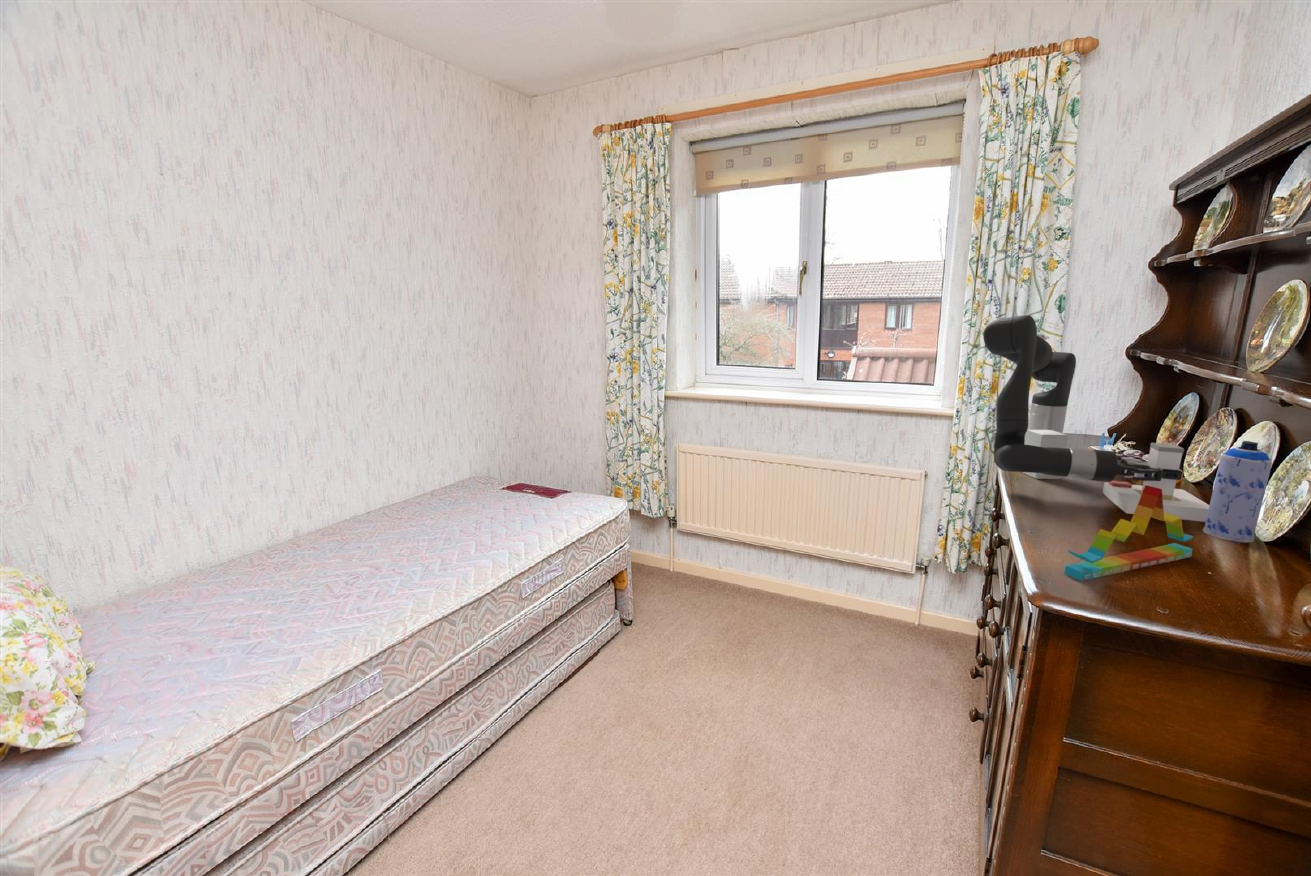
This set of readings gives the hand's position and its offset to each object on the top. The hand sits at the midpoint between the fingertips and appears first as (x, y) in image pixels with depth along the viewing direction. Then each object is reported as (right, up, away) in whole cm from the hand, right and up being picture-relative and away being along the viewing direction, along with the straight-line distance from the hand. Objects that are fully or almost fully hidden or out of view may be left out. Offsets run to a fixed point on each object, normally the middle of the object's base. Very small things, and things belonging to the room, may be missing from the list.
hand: (1176, 472), depth 136 cm
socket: (-3, -8, +3) cm, 9 cm away
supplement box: (-13, -3, +29) cm, 32 cm away
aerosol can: (-2, -12, -14) cm, 19 cm away
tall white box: (-3, -8, +3) cm, 8 cm away
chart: (-34, -16, -29) cm, 48 cm away
